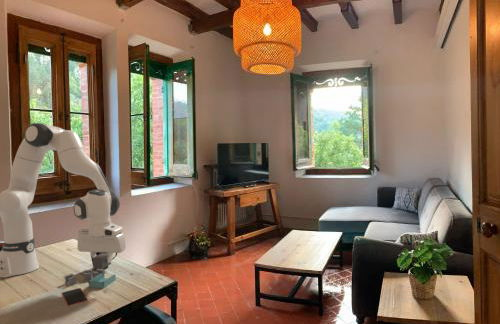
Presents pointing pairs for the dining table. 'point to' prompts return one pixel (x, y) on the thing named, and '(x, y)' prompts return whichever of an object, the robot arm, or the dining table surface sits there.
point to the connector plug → (100, 261)
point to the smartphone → (74, 296)
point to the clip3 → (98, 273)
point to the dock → (101, 281)
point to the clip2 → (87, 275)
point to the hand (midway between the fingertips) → (102, 262)
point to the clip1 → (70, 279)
